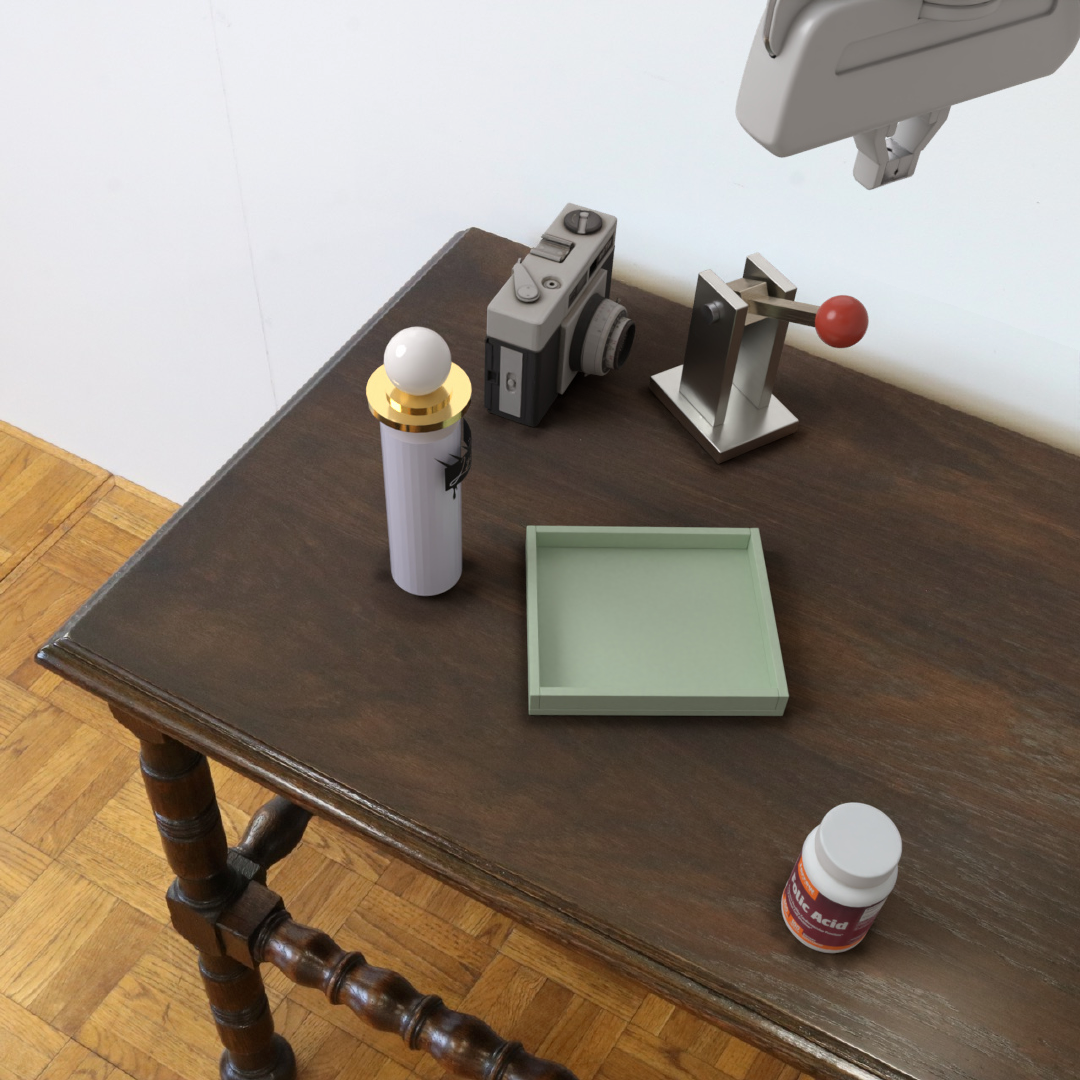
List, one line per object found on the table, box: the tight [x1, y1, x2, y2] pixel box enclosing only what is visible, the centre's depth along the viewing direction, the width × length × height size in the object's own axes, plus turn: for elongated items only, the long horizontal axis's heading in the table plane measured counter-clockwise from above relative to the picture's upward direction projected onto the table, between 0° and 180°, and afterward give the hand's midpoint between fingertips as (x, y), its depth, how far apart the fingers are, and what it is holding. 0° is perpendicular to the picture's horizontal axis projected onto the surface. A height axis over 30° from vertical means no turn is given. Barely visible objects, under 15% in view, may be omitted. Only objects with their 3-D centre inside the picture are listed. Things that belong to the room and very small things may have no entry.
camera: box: [483, 202, 637, 428], centre depth 91 cm, size 14×8×10 cm, turn 155°
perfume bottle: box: [365, 326, 473, 597], centre depth 74 cm, size 6×6×20 cm
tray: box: [525, 525, 790, 717], centre depth 79 cm, size 15×13×2 cm
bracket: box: [648, 252, 800, 464], centre depth 88 cm, size 9×7×12 cm
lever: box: [725, 277, 870, 349], centre depth 81 cm, size 13×3×3 cm, turn 30°
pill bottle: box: [780, 802, 903, 954], centre depth 64 cm, size 5×5×8 cm
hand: (881, 178), depth 69 cm, fingers closed
